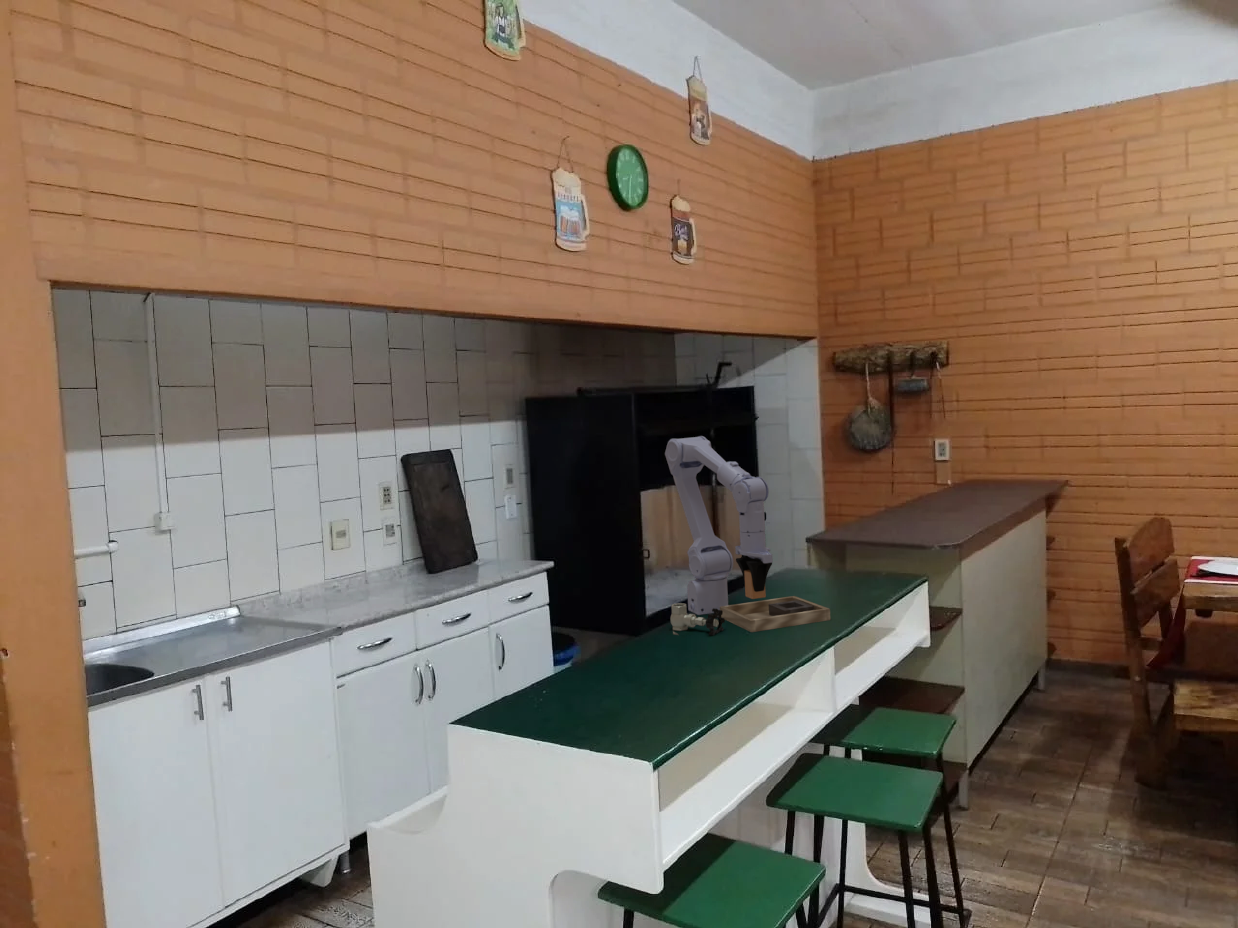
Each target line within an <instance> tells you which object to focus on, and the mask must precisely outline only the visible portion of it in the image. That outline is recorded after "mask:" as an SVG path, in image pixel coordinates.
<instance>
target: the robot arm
mask: <svg viewBox="0 0 1238 928" xmlns="http://www.w3.org/2000/svg"><path fill="white" fill-rule="evenodd" d="M664 456H665V458H666V461H667V464H668V468H669V472H670V474H671V475H672V476H673V482H674V484H675V487H676V490H677V493H678V496H679V499H680V502H681V505H682V509H683V513H684V516H685V518H686V521H687V522H686V523H687V525H688V528H689V532H690V534H691V537H692V540H693V541H692V542H693V543H692V544H691V545H690V547H689V548H688V550H687V552H686V553H687V557H688V566H689V571H690V573H691V574H692V575H693V577H694V579H693V580H690V581H688V583H687V593H686V594H687V608H688V610H687V611H689V612H692V614H695V615H696V616H700V615H708V614H714V612H712V609H713V608H716V609H718V610H720V607H721V606H728V605H729V597H728V596H729V595H728V577H730V572H731V571H732V570H733V568H734V558H733V554H732V553H731V551H730V550H729V549H728V546H727V544H726V541H724V540H722V539H721V538H719V537H718V536H717V535H715V533H714V530H713V527H712V523H711V519H710V516H709V515H708V512H707V508H706V505H705V502H704V499H703V496H702V494H701V490H700V487H699V484H698V483H699V482H698V481H697V474H698V473H700V472H701V471H702V469H703V467H704V466H706V467H707V468H708V469H709V470H711V471H712V472H714V473H715V474H716V479H717V481H718V482H719V483H720V484H722V485H723V486H724V487H725V488H726V489H727V490H729V491H730V492H731V493H732V494H731V495H732V499H733V500H734V502H735V508H736V511H737V512H738V519H739V520H738V521H739V542H740V543H739V544H740V545H736V546H734V548H735V554H736V555H741V557H736V558H735V562H736V564H738V565H737V566H738V567H739V569H740V571H741V574H742V578H743V581H744V582H745V574H744V571H745V570H750V572H751V576H752V582H753V587H754V591H755V592H758V591H764V587H765V588H766V582H767V578H768V577H767V576H768V573H769V572H770V569H771V567H772V566H773V559H774V558H773V553H770V552H771V548H769V547H767V546H766V545H767V544H766V524H765V523H766V522H765V505H764V504H765V503H764V502H766V500H767V499H768V497H769V492H770V491H769V486H768V483H767V481H765V479H764V478H763V477H762V476H756V477H755V476H752V475H751V473H749V472H747V471H746V470H745V469H743V468H741V466H739V463H738V462H737V461H726V460H725V459H724V458H723V457H722V456H721V455H720V454H718V453H717V451H715V450H714V449H713V448H712V443H711V441H710V440H708V439H707V438H706V437H705V436H703V435H698V436H695V437H694V436H693V437H684V438H682V437H681V438H670V439H669V440H668V441H667V445H666V449H665V452H664Z"/></svg>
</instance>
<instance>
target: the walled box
mask: <svg viewBox="0 0 1238 928" xmlns="http://www.w3.org/2000/svg"><path fill="white" fill-rule="evenodd" d="M720 610H722V611H723V614H722V615H721V618H724V619H725V621H727V622H730V623H732V624H733V625H736V626H737V627H740V628H742V629H743V630H746V631H748V632H750V633H755V632H761V631H768V630H774V629H781V628H789V627H793V626H794V627H795V626H799V625H800V626H801V625H805V624H806V625H807V624H813V623H819V622H825V621H831V609H830V608H829V607H826V606H823V605H820V604H818V603H815V602H812V601H809V600H807V599H804V598H801V597H798V596H796V595H793V596H792V595H791V596H784V597H779V598H778V597H777V598H776V597H775V598H770V599H764V600H758V601H750V602H743V603H736V604H735V603H734V604H728V606H721V607H720Z"/></svg>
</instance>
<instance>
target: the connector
mask: <svg viewBox="0 0 1238 928" xmlns="http://www.w3.org/2000/svg"><path fill="white" fill-rule="evenodd" d="M744 574H745V581H744V590H745V591H744V592H745V593H744V594H745V597H746V598H749V599H751V600H755V599H763V598H766V596H767V594H766V586H765V587H764V591H758V592H755V591H754V587H753V582H752V576H751V572H750V570H745V571H744Z"/></svg>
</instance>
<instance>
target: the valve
mask: <svg viewBox="0 0 1238 928" xmlns="http://www.w3.org/2000/svg"><path fill="white" fill-rule="evenodd" d="M687 608H688V606H687V603H682V602H680V603H679V602H678V603H677V602H676V603H673V604H671V615H670V624H671V625H672V635H675V636H680V634H679V633H677V632H675V631H678V632H681V631H687V630H688V628H695V627H696V626H697V625H698V626H701V627H704V626H705V627H706V629H709V630H708V631H709V632H708V636H711V637H713V636H715V635H716V634H719V633H720V632H723V631H724V627H723V624H724V623H725V622H726V620H725V619H724V618H721V615H722V614H723V611H722V610H718V609H716V608H713V609H712V612H714V613H708V614H707V618H705V617H702V616H701V617H700V616H698V617H697V614H695V613H688V612H687V611H688V610H687ZM715 628H716V629H715Z"/></svg>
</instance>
